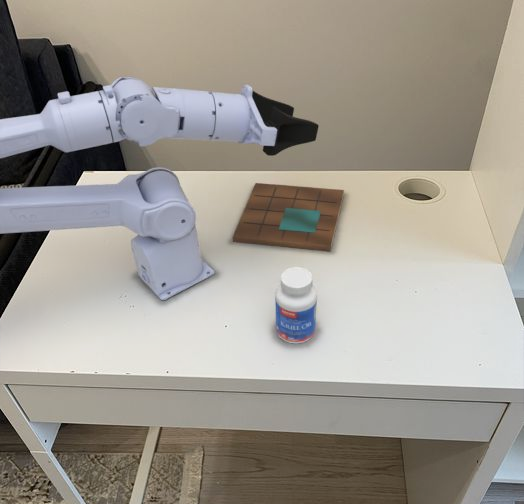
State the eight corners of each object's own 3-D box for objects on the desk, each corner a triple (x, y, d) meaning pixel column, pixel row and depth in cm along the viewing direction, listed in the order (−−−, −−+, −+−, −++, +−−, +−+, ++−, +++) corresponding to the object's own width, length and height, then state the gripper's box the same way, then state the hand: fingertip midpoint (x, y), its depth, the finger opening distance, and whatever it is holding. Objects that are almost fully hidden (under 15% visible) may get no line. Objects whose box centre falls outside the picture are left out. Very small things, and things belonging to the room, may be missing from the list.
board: (330, 251, 86) (330, 246, 85) (233, 241, 89) (232, 236, 88) (343, 194, 96) (344, 189, 95) (255, 187, 99) (255, 182, 98)
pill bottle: (276, 345, 74) (274, 292, 66) (275, 317, 77) (273, 263, 70) (317, 344, 73) (319, 290, 66) (314, 315, 77) (315, 261, 70)
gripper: (232, 98, 61) (335, 107, 67) (195, 68, 72) (287, 77, 77) (224, 161, 66) (322, 164, 71) (190, 123, 76) (278, 129, 81)
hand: (303, 123), depth 74 cm, fingers open, 7 cm apart
